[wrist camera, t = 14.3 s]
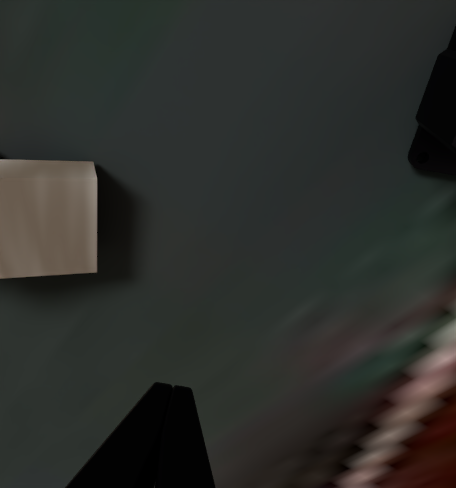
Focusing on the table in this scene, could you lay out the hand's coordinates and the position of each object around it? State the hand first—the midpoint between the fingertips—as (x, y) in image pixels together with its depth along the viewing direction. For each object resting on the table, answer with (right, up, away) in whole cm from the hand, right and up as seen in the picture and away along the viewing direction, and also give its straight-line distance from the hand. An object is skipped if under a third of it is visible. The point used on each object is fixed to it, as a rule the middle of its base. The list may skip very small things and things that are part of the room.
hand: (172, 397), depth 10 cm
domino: (-5, +5, +11) cm, 13 cm away
